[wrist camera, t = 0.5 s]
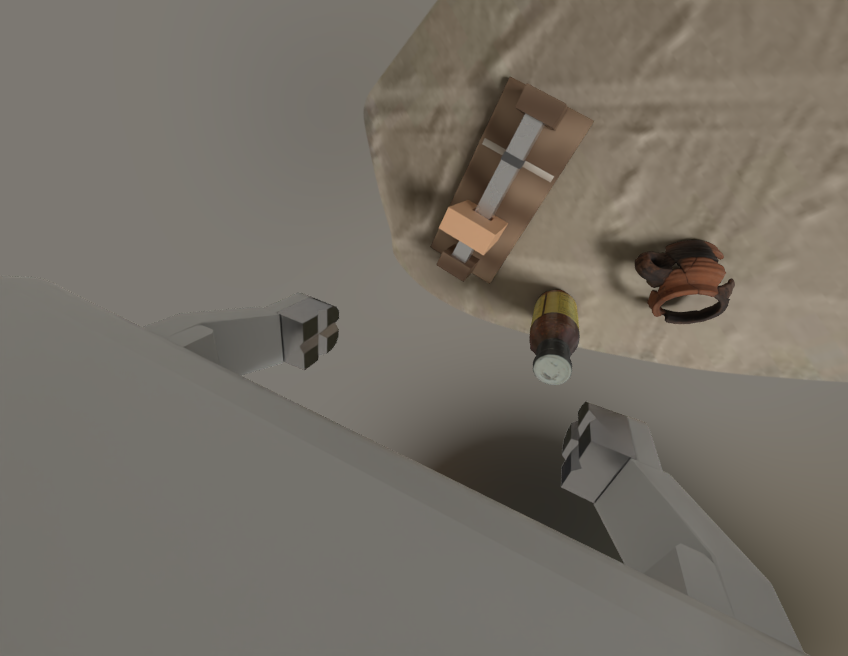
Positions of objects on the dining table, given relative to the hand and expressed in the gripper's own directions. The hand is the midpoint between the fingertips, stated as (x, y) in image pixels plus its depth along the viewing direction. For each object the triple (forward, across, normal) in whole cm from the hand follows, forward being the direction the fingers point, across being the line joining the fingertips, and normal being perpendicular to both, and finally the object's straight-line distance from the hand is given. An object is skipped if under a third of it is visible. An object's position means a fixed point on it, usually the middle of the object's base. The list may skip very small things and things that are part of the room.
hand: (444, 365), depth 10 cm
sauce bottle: (+44, -7, +13) cm, 46 cm away
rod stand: (+44, +7, -1) cm, 44 cm away
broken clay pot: (+44, -19, +4) cm, 48 cm away
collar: (+42, +8, +3) cm, 42 cm away
